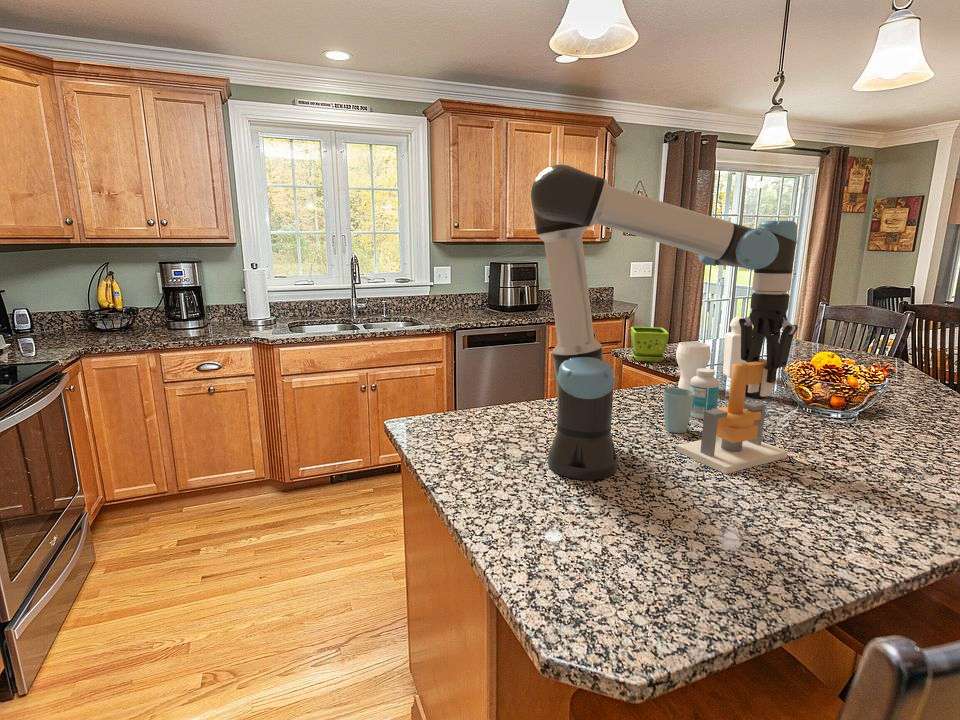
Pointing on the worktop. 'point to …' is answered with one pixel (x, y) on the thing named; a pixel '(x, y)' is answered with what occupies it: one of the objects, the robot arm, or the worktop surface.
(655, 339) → the flower pot
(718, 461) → the base
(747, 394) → the supplement bottle
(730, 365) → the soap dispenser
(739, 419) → the lever handle
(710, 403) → the pill bottle
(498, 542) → the worktop surface
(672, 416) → the cup
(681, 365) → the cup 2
